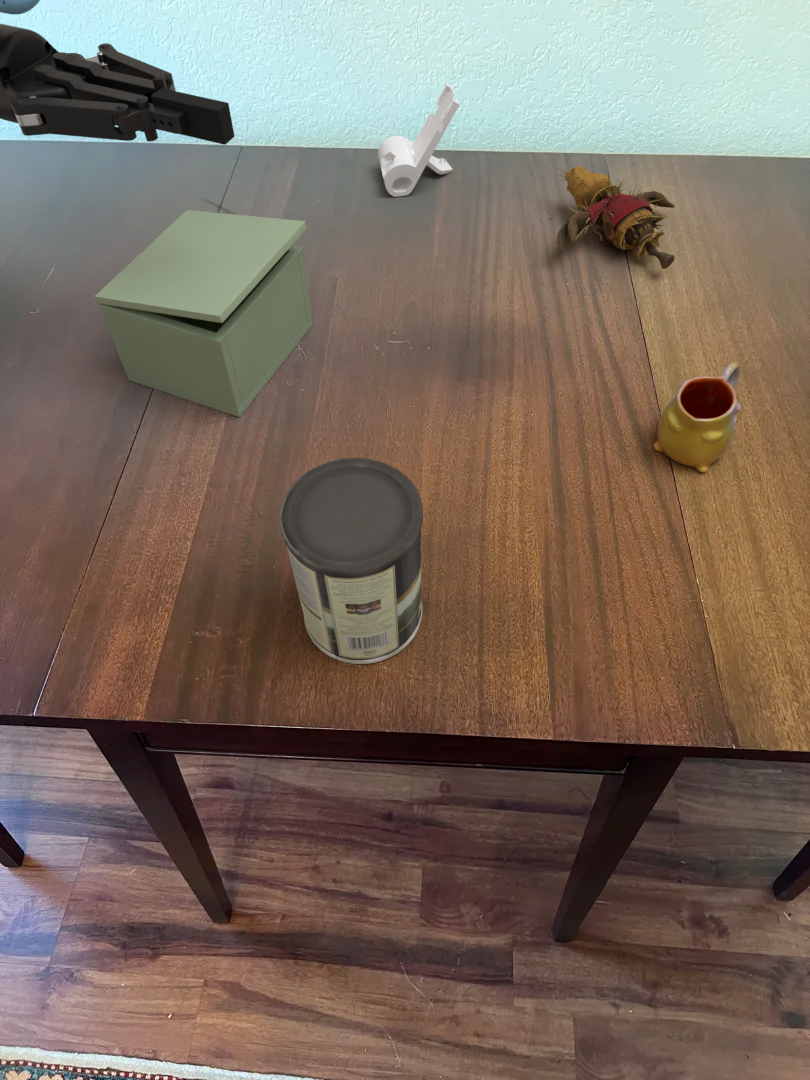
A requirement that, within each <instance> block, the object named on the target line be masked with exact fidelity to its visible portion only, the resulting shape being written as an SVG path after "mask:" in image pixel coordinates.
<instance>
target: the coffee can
mask: <svg viewBox="0 0 810 1080" xmlns="http://www.w3.org/2000/svg"><path fill="white" fill-rule="evenodd" d="M423 522H424V505H423V500H422V497H421V494H420V492H419V490H418V488H417V487H416V486H415V484H414V483H413V481H411V480H410V478H409V477H408V476H406V475H405V474H404V473H403V472H402V471H401V470H399V469H398V468H396V467H394V466H393V465H390V464H388V463H385V462H383V461H379V460H375V459H371V458H366V457H365V458H364V457H347V458H346V457H345V458H339V459H338V458H337V459H333V460H331V461H330V460H329V461H326V462H324V463H321V464H318V465H316V466H315V467H312V468H311V469H309V470H308V471H306V472H304V473H303V474H301V476H300V477H298V478H297V479H296V480H295V481H294V482H293V483H292V484H291V485H290V487H289V488H288V490H287V491H286V493H285V494H284V496H283V499H282V501H281V503H280V507H279V514H278V525H279V530H280V534H281V537H282V539H283V541H284V544H285V546H286V549H287V554H288V557H289V561H290V562H289V563H290V566H291V570H292V573H293V578H294V582H295V586H296V589H297V590H296V591H297V593H298V598H299V603H300V606H301V609H302V614H303V621H304V625H305V629H306V633H307V634H308V636H309V638H310V639H311V641H312V643H313V644H314V645H315V646H316V647H317V648H318V650H320V651H321V652H322V653H323V654H325V655H327V656H328V657H329V658H332V659H334V660H336V661H339V662H343V663H346V664H347V663H348V664H351V665H368V664H375V663H380V662H382V661H385V660H388V659H391V658H392V657H394V656H396V655H397V654H399V653H400V652H403V650H404V649H405V648H406V647H408V645H409V644H410V643H411V642H412V641H413V640H414V639H415V636H416V635H417V634H418V631H419V629H420V626H421V623H422V620H423V600H422V527H423Z"/></svg>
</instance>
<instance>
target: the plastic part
mask: <svg viewBox="0 0 810 1080" xmlns="http://www.w3.org/2000/svg"><path fill="white" fill-rule="evenodd" d="M444 86H445V87H444V88H443V91H442V92H441V94H440V95H439V98H438V99H437V101H436V103H435V104H436V105H438V107H437V109H436V111H435V112H434V114H433V113H431V112H430V114H429V115H428V117H427V119H426V120H425V122H424V124H423V126H422V128H421V129H420V131H419V133H418V134H417V137H416V138H415V140H414V141H412V140H410V139H408V138H407V137H404V136H402V135H393V136H388V137H387V138H385V139H383V140H382V141H381V143H380V144H379V146H378V149H377V157H378V162H379V166H380V170H381V174H382V178H383V182H384V187H385V189H386V192H387V193H388V194H389V195H390V196H392V197H396V198H398V197H406V196H408V195H410V194H411V193H412V192H413V190H414V189H415V187H416V185H417V184H418V182H419V180H420V178H421V176H422V174H423V173H424V170H425V168H426V167H429V168H430V169H431V170H432V171H433V172H434V173H436V174H438V175H446V174H449V173H451V172H453V168H452V167H451V165H450V164H449V162H448V161H447V159H446V158H443V157H440V158H438V157H435V156H434V155H433V154H434V152H435V150H436V149H437V147H438V145H439V143H440V141H441V139H442V138H443V136H444V134H445V132H446V130H447V128H448V127H449V125H450V124H451V121H452V120H453V118H454V116H455V114H456V112H457V110H458V108H459V107H460V102H459V99H458V98H457V97H454V96H455V95H456V92H455V90H454V88H453V86H452V85H451V84H449V83H447V82H445V84H444Z"/></svg>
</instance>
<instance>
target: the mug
mask: <svg viewBox="0 0 810 1080" xmlns="http://www.w3.org/2000/svg"><path fill="white" fill-rule="evenodd" d="M741 368H742V367H741V364H740V363H739V362H737V361H731V362H730V363H728V364H727V365H726V366H725V367H724V369H723V370H722V372H721V375H720V376H707V375H706V376H705V375H704V376H695V377H693V378H690V379H687V380H685V381H683V382H682V384H681V385H680V387H679V390H678V391H677V393H676V394H675V395H673V396H672V397H671V399H670V400H669V402H668V403H667V404H666V405H665V406H664V407H665V408H664V409H663V411H662V413H661V416H660V418H659V421H658V424H657V441H655V442H654V444H653V450H655V452H657V453H658V452H659V453H664V454H665V455H666V456H667V457H668V458H669V459H671V460H673V461H674V462H676V463H678V464H681V465H684V466H687V467H692V468H695V469H696V470H697V471H698V472H700V473H702V474H703V473H707V472H708V471H709V468H710V466H711V464H712V463H714V462H716V461H717V460H719V459H720V458H721V457H722V456H723V455H724V454H725V452H726V451H727V450H728V448H729V447H730V445H731V443H732V442H733V441H732V440H733V438H734V432H735V430H736V426H735V425H736V423H737V417H736V415H737V414H738V413H740V412H741V410H742V406H741V404H740V403H739V402H738V399H737V393H736V391H735V389H734V388H735V386H736V384H737V383H738V380H739V379H740V375H741V372H742V371H741V370H742V369H741Z"/></svg>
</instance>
